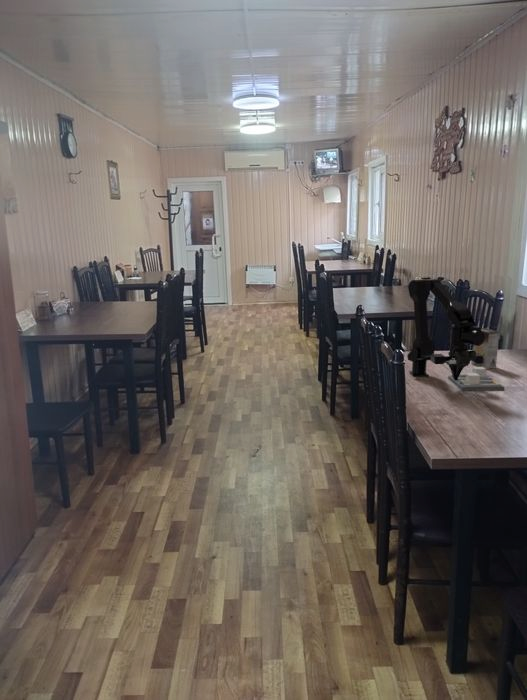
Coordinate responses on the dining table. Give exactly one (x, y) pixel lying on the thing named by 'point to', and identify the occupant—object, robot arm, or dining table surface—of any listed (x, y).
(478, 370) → the light grey cube
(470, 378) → the beige cube
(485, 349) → the coffee box
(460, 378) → the switch panel
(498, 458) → the dining table surface
